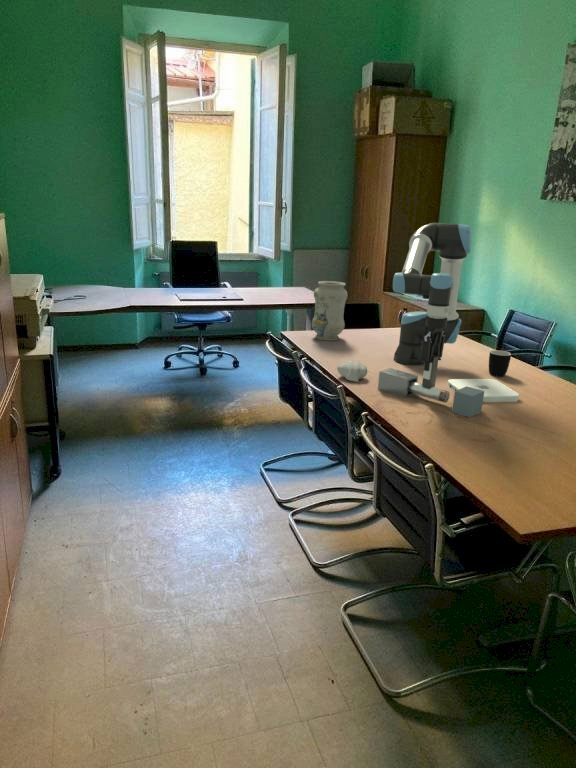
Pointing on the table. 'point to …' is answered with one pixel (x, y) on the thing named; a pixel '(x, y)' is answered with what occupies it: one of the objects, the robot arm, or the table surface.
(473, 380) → the computer
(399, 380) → the sleeve
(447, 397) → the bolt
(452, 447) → the table surface
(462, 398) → the grey block
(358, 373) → the shell shaped sculpture
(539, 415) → the table surface
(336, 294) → the vase
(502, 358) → the mug
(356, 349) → the table surface
